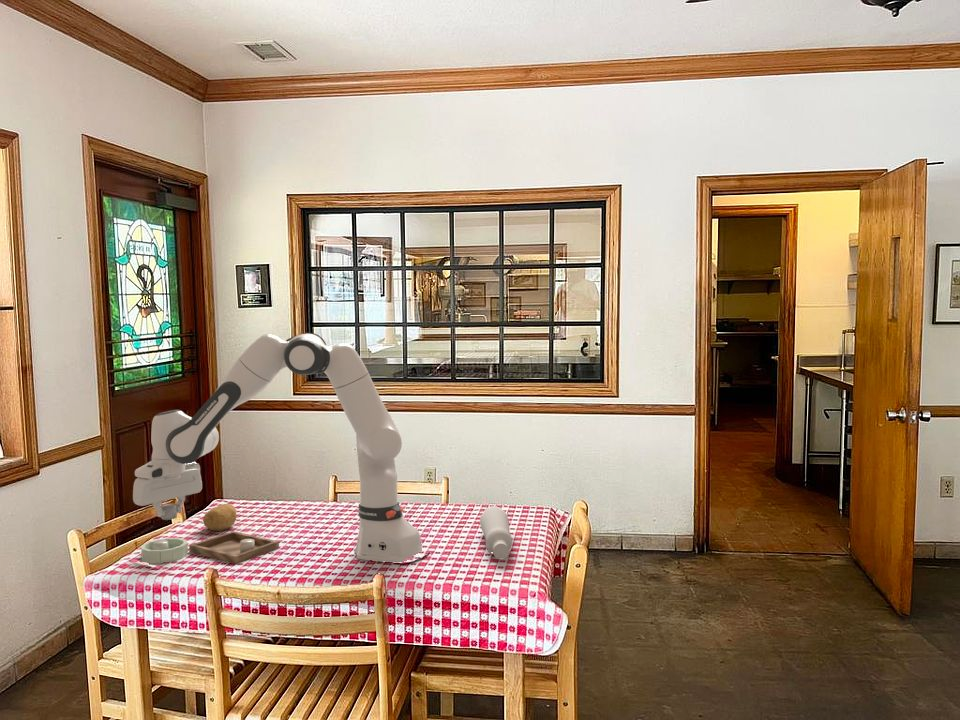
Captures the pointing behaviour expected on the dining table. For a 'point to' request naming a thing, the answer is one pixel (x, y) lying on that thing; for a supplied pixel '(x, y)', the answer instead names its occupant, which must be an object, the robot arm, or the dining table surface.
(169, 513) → the pebble
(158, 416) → the robot arm
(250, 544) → the pebble
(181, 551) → the bowl
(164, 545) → the pebble
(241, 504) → the dining table surface
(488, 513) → the bottle
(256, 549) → the tray
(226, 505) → the potato
